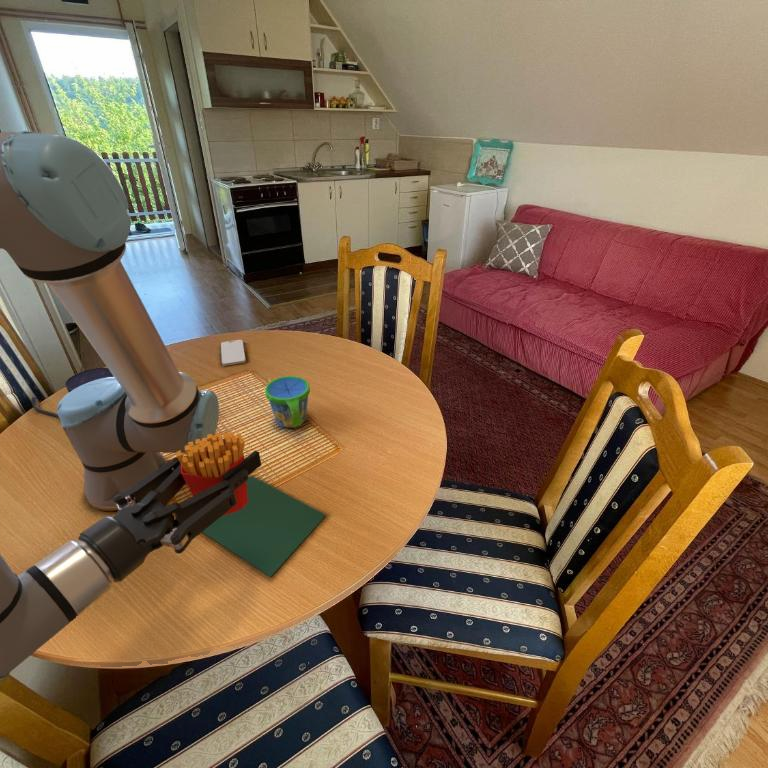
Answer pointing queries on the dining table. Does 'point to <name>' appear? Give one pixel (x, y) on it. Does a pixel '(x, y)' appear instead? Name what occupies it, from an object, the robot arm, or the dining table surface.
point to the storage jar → (87, 377)
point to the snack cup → (288, 400)
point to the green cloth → (265, 527)
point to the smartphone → (232, 352)
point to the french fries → (213, 464)
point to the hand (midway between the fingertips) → (243, 450)
